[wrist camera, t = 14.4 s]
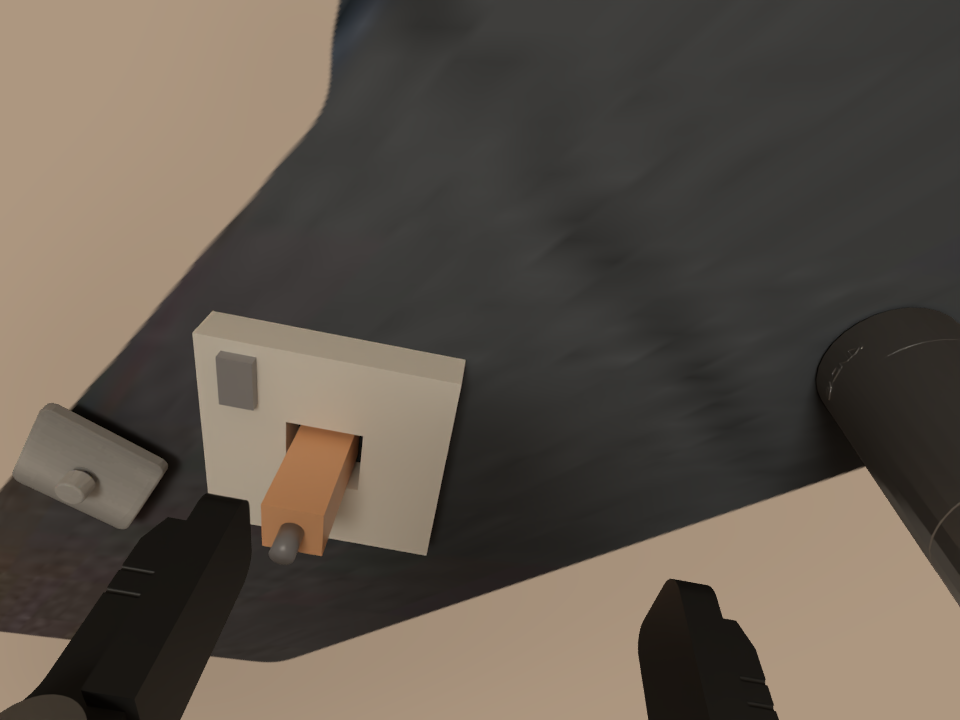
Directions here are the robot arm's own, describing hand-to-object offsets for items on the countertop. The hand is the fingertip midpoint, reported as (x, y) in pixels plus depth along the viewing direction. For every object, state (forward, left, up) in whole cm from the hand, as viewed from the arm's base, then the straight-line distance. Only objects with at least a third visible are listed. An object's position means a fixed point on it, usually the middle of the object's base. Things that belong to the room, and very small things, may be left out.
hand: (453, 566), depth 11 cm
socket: (+9, +23, -28) cm, 37 cm away
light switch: (+28, +30, -28) cm, 50 cm away
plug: (+9, +23, -28) cm, 37 cm away
